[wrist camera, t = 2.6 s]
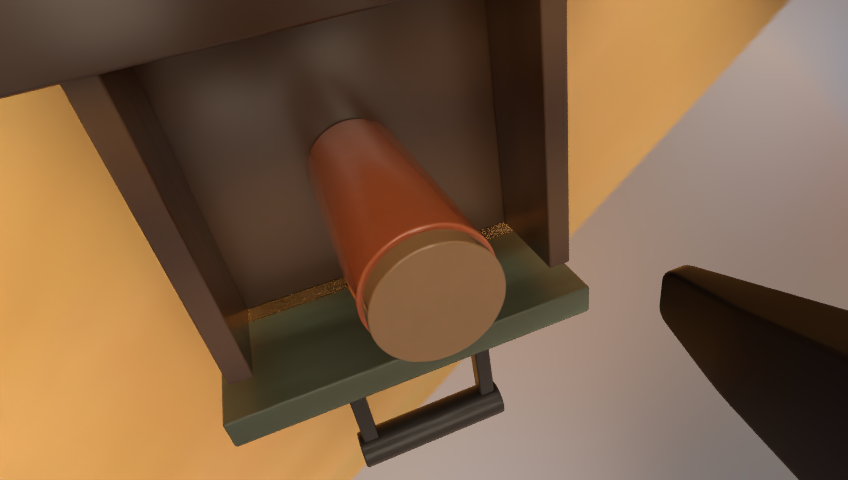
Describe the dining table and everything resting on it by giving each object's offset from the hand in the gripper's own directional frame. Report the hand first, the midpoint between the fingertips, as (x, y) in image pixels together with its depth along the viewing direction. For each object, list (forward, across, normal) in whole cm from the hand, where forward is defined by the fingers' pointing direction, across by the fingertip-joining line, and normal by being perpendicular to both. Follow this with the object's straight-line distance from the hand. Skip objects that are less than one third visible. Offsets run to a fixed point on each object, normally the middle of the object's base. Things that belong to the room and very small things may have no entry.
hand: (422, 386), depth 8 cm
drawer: (+12, -1, +3) cm, 12 cm away
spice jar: (+11, -1, +1) cm, 11 cm away
